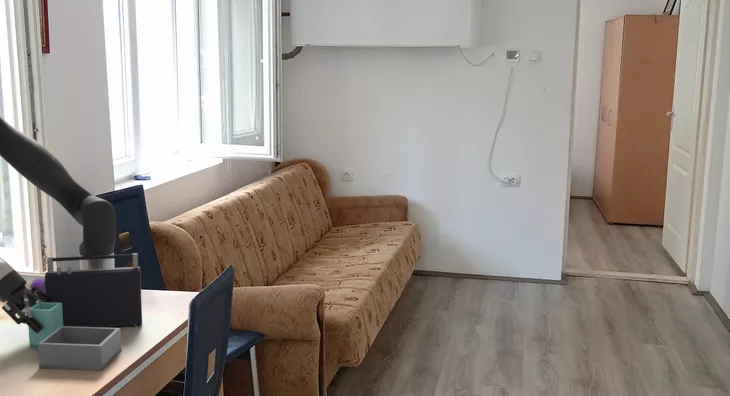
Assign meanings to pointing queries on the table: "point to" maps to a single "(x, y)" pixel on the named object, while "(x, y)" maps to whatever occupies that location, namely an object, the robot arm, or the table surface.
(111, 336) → the big crate
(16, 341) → the table surface
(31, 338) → the box
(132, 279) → the radio
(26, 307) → the robot arm
